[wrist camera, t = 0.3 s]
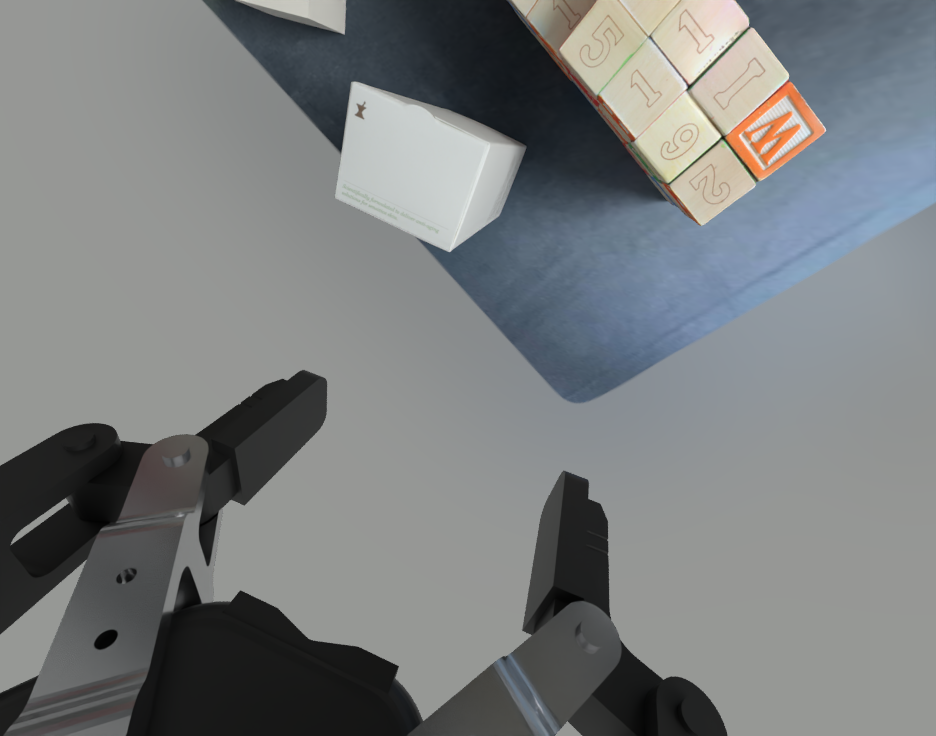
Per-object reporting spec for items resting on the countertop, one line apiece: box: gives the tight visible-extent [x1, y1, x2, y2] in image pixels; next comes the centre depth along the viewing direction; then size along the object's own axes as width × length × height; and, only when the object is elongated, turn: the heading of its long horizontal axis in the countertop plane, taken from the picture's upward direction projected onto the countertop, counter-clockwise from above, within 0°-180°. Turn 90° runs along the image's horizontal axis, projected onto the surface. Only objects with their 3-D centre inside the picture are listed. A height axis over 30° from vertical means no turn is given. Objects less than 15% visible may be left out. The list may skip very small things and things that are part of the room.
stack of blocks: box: [507, 0, 826, 226], centre depth 23 cm, size 21×6×12 cm, turn 47°
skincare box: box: [335, 82, 527, 252], centre depth 28 cm, size 8×7×16 cm
